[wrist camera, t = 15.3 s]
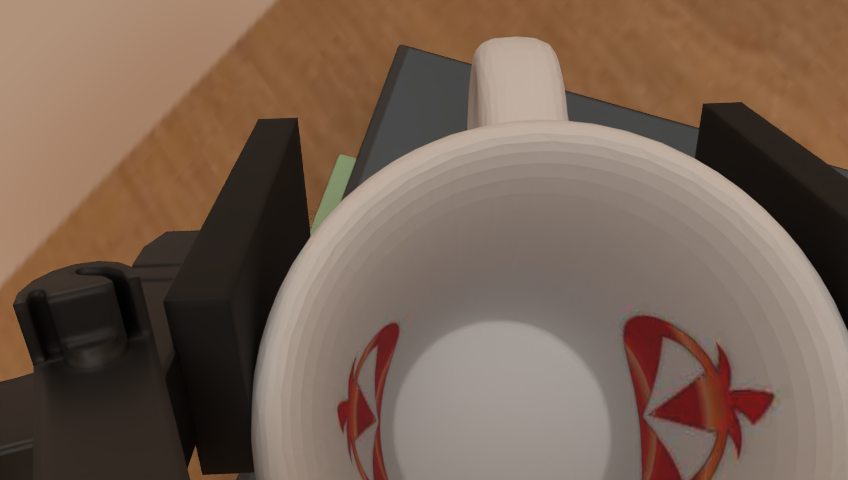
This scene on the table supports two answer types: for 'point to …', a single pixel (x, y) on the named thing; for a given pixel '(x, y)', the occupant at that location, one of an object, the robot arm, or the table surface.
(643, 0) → the table surface
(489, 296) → the cup
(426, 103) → the kitchen scale
